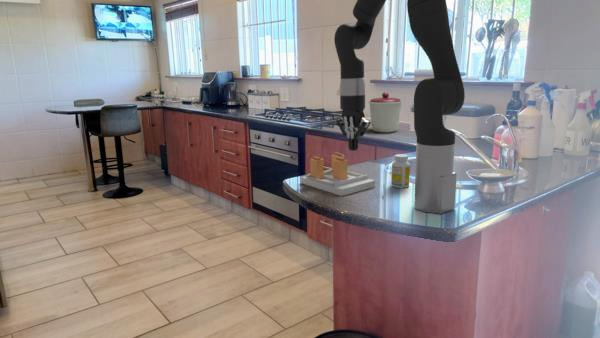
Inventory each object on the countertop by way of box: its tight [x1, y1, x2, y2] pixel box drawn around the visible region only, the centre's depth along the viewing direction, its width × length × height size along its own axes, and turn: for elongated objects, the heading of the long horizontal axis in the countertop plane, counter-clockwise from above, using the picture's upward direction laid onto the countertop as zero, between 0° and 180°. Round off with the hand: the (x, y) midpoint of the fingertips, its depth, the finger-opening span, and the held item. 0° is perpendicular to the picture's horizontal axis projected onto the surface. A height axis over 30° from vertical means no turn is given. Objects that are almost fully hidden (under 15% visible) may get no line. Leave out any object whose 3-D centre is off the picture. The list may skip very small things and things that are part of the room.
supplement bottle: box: [390, 153, 411, 189], centre depth 132 cm, size 5×5×10 cm
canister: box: [368, 92, 403, 134], centre depth 234 cm, size 18×18×21 cm
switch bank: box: [300, 168, 376, 197], centre depth 136 cm, size 19×14×3 cm
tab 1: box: [309, 155, 325, 179], centre depth 136 cm, size 3×3×7 cm
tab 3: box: [334, 157, 348, 180], centre depth 134 cm, size 3×3×7 cm
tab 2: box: [331, 152, 346, 172], centre depth 141 cm, size 3×3×7 cm
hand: (353, 150), depth 134 cm, fingers closed
